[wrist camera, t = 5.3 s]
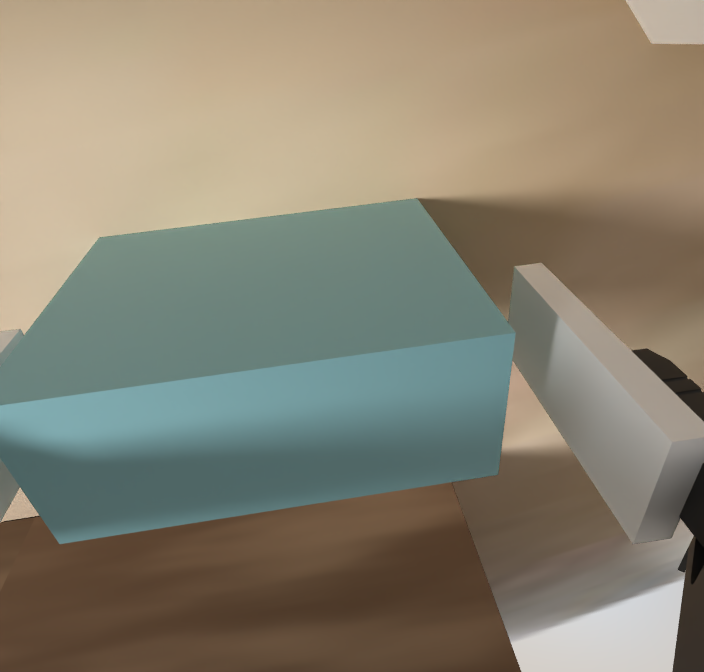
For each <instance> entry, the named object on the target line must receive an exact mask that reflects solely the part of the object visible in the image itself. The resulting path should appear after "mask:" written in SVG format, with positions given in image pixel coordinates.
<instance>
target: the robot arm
mask: <svg viewBox="0 0 704 672" xmlns="http://www.w3.org/2000/svg"><path fill="white" fill-rule="evenodd" d="M508 323H509V324H510V326H511V327H512V328H513V330H514V331H515V332H516V334H515V342H514V350H513V358H512V360H513V361H514V363H515V364H516V366H517V368H518V369H519V371H520V372H521V374H522V375H523V377H524V378H525V380H526V381H527V383H528V384H529V386H530V387H531V389H532V391H533V392H534V394H535V395H536V397H537V398H538V400H539V401H540V403H541V404H542V406H543V407H544V409H545V410H546V412H547V413H548V415H549V417H550V418H551V420H552V421H553V423H554V424H555V426H556V427H557V429H558V430H559V432H560V433H561V435H562V436H563V438H564V439H565V441H566V443H567V444H568V446H569V447H570V449H571V450H572V452H573V453H574V455H575V456H576V458H577V459H578V461H579V462H580V464H581V465H582V467H583V469H584V470H585V472H586V473H587V475H588V476H589V478H590V479H591V481H592V482H593V484H594V485H595V487H596V488H597V490H598V492H599V493H600V495H601V496H602V498H603V499H604V501H605V502H606V504H607V505H608V507H609V508H610V510H611V511H612V513H613V514H614V516H615V518H616V519H617V521H618V522H619V524H620V525H621V527H622V528H623V530H624V531H625V533H626V534H627V536H628V537H629V539H630V540H631V542H632V544H638V543H645V542H651V541H658V540H664V539H670V538H672V536H673V533H674V531H675V529H676V527H677V525H678V522H679V520H680V518H681V519H682V521H683V522H684V523H685V524H686V526H687V527H688V528H689V530H690V531H691V532H692V533H693V535H694V537H693V539H692V541H691V543H690V545H689V547H688V549H687V551H686V553H685V555H684V557H683V559H682V561H681V564H680V566H679V568H678V570H679V571H682V572H685V570H686V573H685V580H684V588H683V596H682V603H681V611H680V619H679V626H678V634H677V641H676V649H675V658H674V664H673V672H704V392H702V391H701V388H700V387H699V386H698V385H696V384H695V383H694V382H693V381H692V380H691V379H687V376H686V375H685V374H684V373H683V372H682V371H681V370H680V369H679V368H678V367H677V366H675V365H674V364H673V363H672V362H671V361H670V360H668V359H666V358H664V357H662V356H660V355H658V354H656V353H654V352H652V351H650V350H649V349H640V350H632V351H631V350H630V349H629V348H628V347H627V346H626V345H625V344H624V343H623V342H622V341H621V340H620V339H619V338H618V337H617V336H616V335H615V334H614V333H613V332H612V331H611V330H610V329H609V328H608V327H607V326H606V325H605V324H604V323H603V322H602V321H601V320H599V319H598V318H597V317H596V316H595V315H594V314H593V313H592V312H591V311H590V310H589V309H588V308H587V307H586V306H585V305H584V304H583V303H582V302H581V301H580V300H579V299H578V298H577V297H576V296H575V295H574V294H573V293H572V292H571V291H570V290H569V289H568V288H567V287H566V286H565V285H564V284H563V283H562V282H561V281H560V280H559V279H558V278H557V277H556V276H555V275H554V274H553V273H552V272H551V271H549V270H548V269H547V268H546V267H545V266H544V265H543V264H542V263H536V264H528V265H520V266H514V273H513V282H512V291H511V300H510V310H509V319H508ZM23 336H24V335H23V333H22V331H21V329H16V330H8V331H1V332H0V366H1V365H2V364H3V362H4V361H5V360H6V359H7V357H8V356H9V355H10V353H11V352H12V351H13V349H14V348H15V347H16V346H17V344H18V343H19V342H20V340H21V339H22V338H23ZM19 488H20V486H19V485H18V483H17V482H16V480H15V479H14V478H13V476H12V475H11V473H10V472H9V470H8V469H7V467H6V466H5V465H4V463H3V462H2V460H1V459H0V522H1V520H2V518H3V517H4V515H5V513H6V511H7V509H8V508H9V506H10V504H11V502H12V500H13V499H14V497H15V495H16V493H17V491H18V490H19Z"/></svg>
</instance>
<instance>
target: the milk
mask: <svg viewBox="0 0 704 672" xmlns="http://www.w3.org/2000/svg"><path fill="white" fill-rule="evenodd" d="M625 1H626V2H627V4H628V6H629V7H630V9H631V11H632V12H633V14H634V16H635V17H636V19H637V21H638V22H639V24H640V25H641V27H642V29H643V30H644V32H645V34H646V35H647V37H648V39H649V40H650V42H651V44H704V0H625Z"/></svg>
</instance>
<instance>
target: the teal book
mask: <svg viewBox="0 0 704 672" xmlns="http://www.w3.org/2000/svg"><path fill="white" fill-rule="evenodd" d="M515 334H516V332H515V331H514V330H513V328H512V327H511V326H510V324H509V323H508V322H507V320H506V319H505V317H504V316H503V315H502V313H501V312H500V311H499V309H498V308H497V307H496V305H495V304H494V302H493V301H492V300H491V298H490V297H489V296H488V294H487V293H486V292H485V290H484V289H483V287H482V286H481V285H480V283H479V282H478V281H477V279H476V278H475V277H474V275H473V274H472V272H471V271H470V270H469V268H468V267H467V266H466V264H465V263H464V262H463V260H462V259H461V257H460V256H459V255H458V253H457V252H456V251H455V249H454V248H453V247H452V245H451V244H450V242H449V241H448V240H447V238H446V237H445V236H444V234H443V233H442V232H441V230H440V229H439V227H438V226H437V225H436V223H435V222H434V221H433V219H432V218H431V217H430V215H429V214H428V212H427V211H426V210H425V208H424V207H423V206H422V204H421V203H420V202H419V200H418V199H417V198H416V199H408V200H400V201H392V202H384V203H375V204H367V205H359V206H351V207H343V208H335V209H327V210H319V211H311V212H302V213H294V214H286V215H278V216H270V217H262V218H254V219H246V220H238V221H229V222H221V223H213V224H205V225H197V226H189V227H181V228H173V229H165V230H156V231H148V232H140V233H132V234H124V235H116V236H108V237H100V238H99V239H98V240H97V241H96V242H95V244H94V245H93V246H92V248H91V249H90V250H89V252H88V253H87V254H86V255H85V257H84V258H83V259H82V261H81V262H80V263H79V265H78V266H77V267H76V269H75V270H74V271H73V272H72V274H71V275H70V276H69V278H68V279H67V280H66V282H65V283H64V284H63V285H62V287H61V288H60V289H59V291H58V292H57V293H56V295H55V296H54V297H53V299H52V300H51V301H50V302H49V304H48V305H47V306H46V308H45V309H44V310H43V312H42V313H41V314H40V316H39V317H38V318H37V319H36V321H35V322H34V323H33V325H32V326H31V327H30V329H29V330H28V331H27V332H26V334H25V335H24V336H23V338H22V339H21V340H20V342H19V343H18V344H17V346H16V347H15V348H14V349H13V351H12V352H11V353H10V355H9V356H8V357H7V359H6V360H5V361H4V362H3V364H2V365H1V366H0V459H1V460H2V462H3V463H4V465H5V466H6V467H7V469H8V470H9V472H10V473H11V475H12V476H13V478H14V479H15V480H16V482H17V483H18V485H19V486H20V488H21V489H22V491H23V492H24V493H25V495H26V496H27V498H28V499H29V501H30V502H31V504H32V505H33V506H34V508H35V509H36V511H37V512H38V514H39V515H40V517H41V518H42V520H43V521H44V522H45V524H46V525H47V527H48V528H49V530H50V531H51V533H52V534H53V535H54V537H55V538H56V540H57V541H58V543H59V544H64V543H70V542H77V541H83V540H89V539H96V538H102V537H108V536H115V535H121V534H127V533H134V532H140V531H146V530H153V529H159V528H165V527H172V526H178V525H184V524H191V523H197V522H203V521H209V520H216V519H222V518H228V517H235V516H241V515H247V514H254V513H260V512H266V511H273V510H279V509H285V508H292V507H298V506H304V505H311V504H317V503H323V502H329V501H336V500H342V499H348V498H355V497H361V496H367V495H374V494H380V493H386V492H393V491H399V490H405V489H412V488H418V487H424V486H431V485H437V484H443V483H450V482H456V481H462V480H468V479H475V478H481V477H487V476H494V475H498V472H499V464H500V456H501V448H502V439H503V431H504V423H505V415H506V407H507V399H508V391H509V383H510V375H511V367H512V358H513V350H514V342H515Z"/></svg>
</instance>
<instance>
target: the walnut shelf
mask: <svg viewBox="0 0 704 672" xmlns="http://www.w3.org/2000/svg"><path fill="white" fill-rule="evenodd" d="M0 672H521V670H520V667H519V664H518V662H517V659H516V657H515V654H514V651H513V648H512V645H511V643H510V640H509V637H508V635H507V632H506V629H505V626H504V624H503V621H502V618H501V616H500V613H499V610H498V607H497V605H496V602H495V599H494V597H493V594H492V591H491V588H490V586H489V583H488V580H487V578H486V575H485V572H484V569H483V567H482V564H481V561H480V559H479V556H478V553H477V550H476V548H475V545H474V542H473V540H472V537H471V534H470V531H469V529H468V526H467V523H466V521H465V518H464V515H463V512H462V510H461V507H460V504H459V502H458V499H457V496H456V493H455V491H454V488H453V485H452V483H451V482H450V483H443V484H437V485H431V486H424V487H418V488H412V489H405V490H399V491H393V492H386V493H380V494H374V495H367V496H361V497H355V498H348V499H342V500H336V501H329V502H323V503H317V504H311V505H304V506H298V507H292V508H285V509H279V510H273V511H266V512H260V513H254V514H247V515H241V516H235V517H228V518H222V519H216V520H209V521H203V522H197V523H191V524H184V525H178V526H172V527H165V528H159V529H153V530H146V531H140V532H134V533H127V534H121V535H115V536H108V537H102V538H96V539H89V540H83V541H77V542H70V543H64V544H59V543H58V541H57V540H56V538H55V537H54V535H53V534H52V533H51V531H50V530H49V528H48V527H47V525H46V524H45V522H44V521H43V520H42V518H41V517H34V518H27V519H21V520H14V521H8V522H1V523H0Z"/></svg>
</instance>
